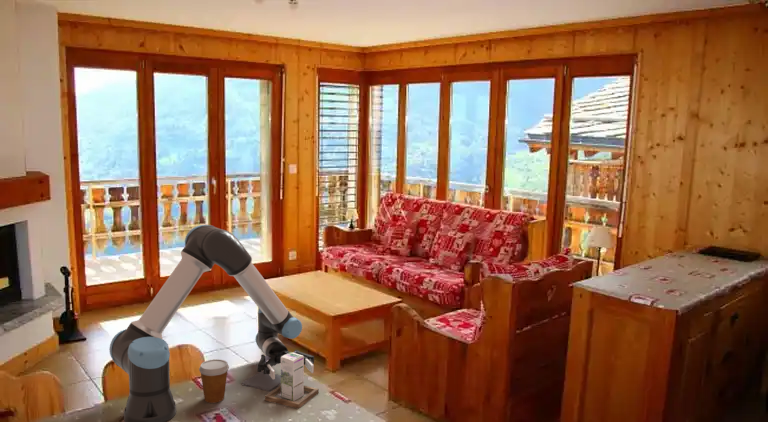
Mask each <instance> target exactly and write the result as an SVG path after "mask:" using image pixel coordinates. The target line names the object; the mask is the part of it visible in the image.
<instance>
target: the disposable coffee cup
mask: <svg viewBox="0 0 768 422" xmlns="http://www.w3.org/2000/svg"><path fill="white" fill-rule="evenodd" d="M229 369H230V366H229V363H228V361H226V360H224V359H219V358H217V359H208V360H205V361H203V362H202V363H201V364H200V366H199V368H198V371H199V373H200V376H201V377H200V378H201V384H202V392H203V397H204V398H203V399H204V401H205V402H206V403H210V404H212V403H213V404H214V403H219V402H222V401H223V400H224V399H225V394H226V388H227V387H226V386H227V380H228V379H227V378H228V371H229Z"/></svg>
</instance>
